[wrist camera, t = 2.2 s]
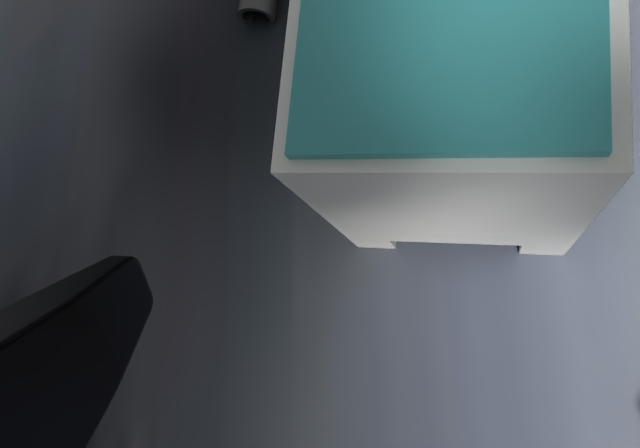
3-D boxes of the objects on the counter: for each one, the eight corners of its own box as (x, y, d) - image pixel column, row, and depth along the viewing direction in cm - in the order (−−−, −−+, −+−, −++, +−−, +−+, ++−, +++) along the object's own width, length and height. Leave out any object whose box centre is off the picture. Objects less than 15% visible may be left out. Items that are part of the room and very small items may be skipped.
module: (563, 255, 18) (637, 167, 9) (358, 247, 20) (265, 168, 12) (563, 115, 19) (630, -81, 10) (367, 120, 21) (288, -39, 13)
